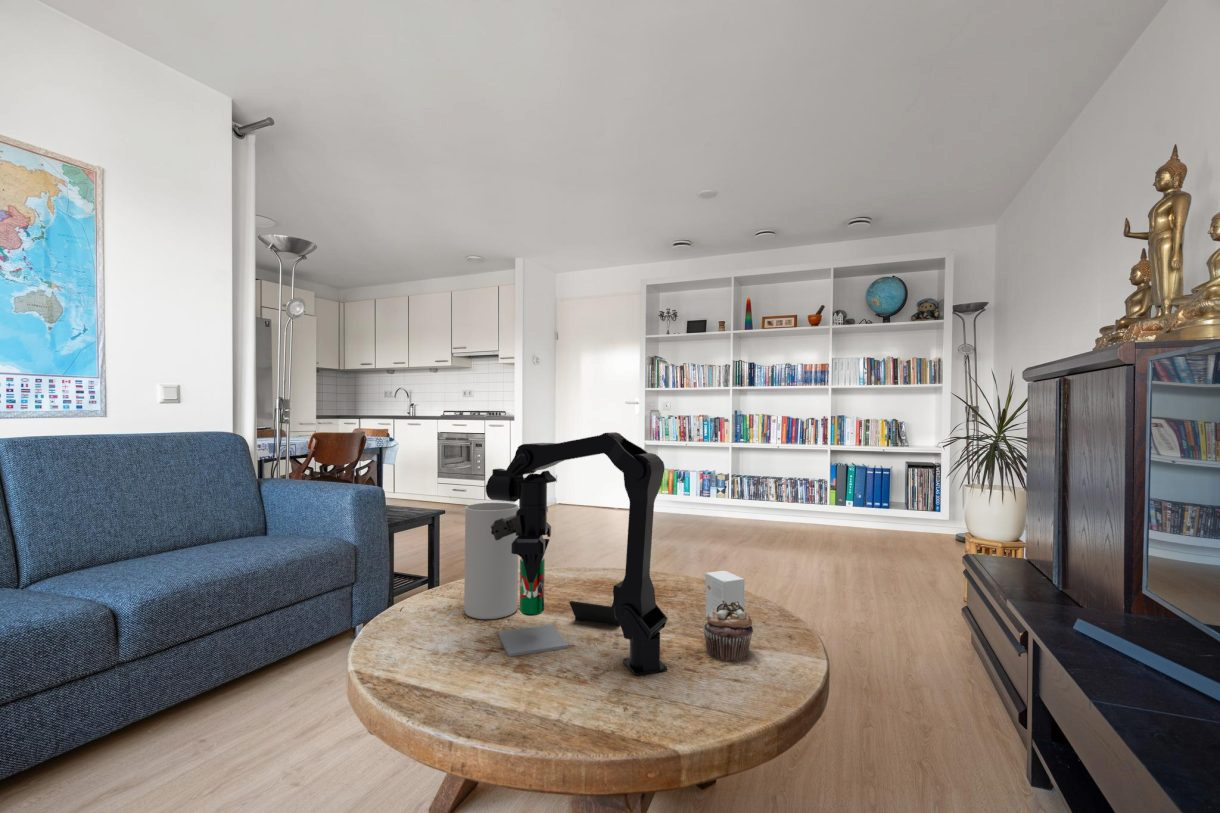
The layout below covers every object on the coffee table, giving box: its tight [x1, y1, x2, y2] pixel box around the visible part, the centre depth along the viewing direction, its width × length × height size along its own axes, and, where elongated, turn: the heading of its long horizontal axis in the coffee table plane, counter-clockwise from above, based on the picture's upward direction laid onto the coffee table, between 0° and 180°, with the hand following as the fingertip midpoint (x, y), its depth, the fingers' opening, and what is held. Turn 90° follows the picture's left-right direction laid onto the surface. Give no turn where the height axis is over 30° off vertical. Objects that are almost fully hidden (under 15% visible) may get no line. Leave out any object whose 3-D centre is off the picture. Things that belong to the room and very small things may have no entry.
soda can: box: [519, 557, 546, 617], centre depth 118 cm, size 5×5×12 cm
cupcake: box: [702, 601, 754, 662], centre depth 112 cm, size 10×10×10 cm
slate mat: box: [497, 624, 569, 658], centre depth 117 cm, size 12×12×1 cm
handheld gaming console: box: [569, 600, 621, 628], centre depth 129 cm, size 12×7×10 cm
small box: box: [704, 570, 746, 618], centre depth 130 cm, size 8×6×10 cm
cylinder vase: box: [463, 501, 519, 620], centre depth 135 cm, size 12×12×25 cm
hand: (532, 578), depth 118 cm, fingers closed on soda can, 5 cm apart
